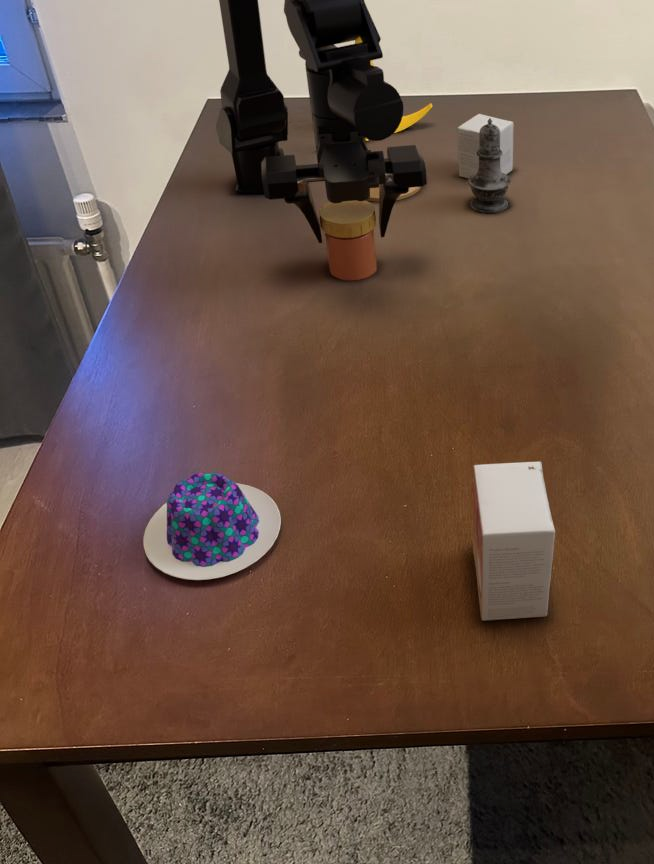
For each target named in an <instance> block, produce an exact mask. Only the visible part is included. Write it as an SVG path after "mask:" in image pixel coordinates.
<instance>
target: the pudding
mask: <svg viewBox="0 0 654 864" xmlns="http://www.w3.org/2000/svg"><path fill="white" fill-rule="evenodd" d="M281 523H282V518H281V511H280V509H279V507H278V504H277V503H276V502H275V501H274V500H273V498H272V497H271V496H269V495H268V494H267V493H266V492H265V491H262V490H261V489H258V488H257V487H254V486H252V485H248V484H243V483H238V482H235V481H234V480H232V479H229V478H228V476H227V475H225V474H223V473H220V472H211V473H206V472H198V473H194V474H193V475H191V476H190V477H189V478H185V479H181V480H180V481H179V482H177V483H176V484H175V486H174V487H173V491H172V492H171V493H169V496H168V499H167V501H166V502H165V503H164V504H163V505H161V507H160V508H159V509H157V510H156V511H155V512H154V514H153V515H152V516H151V518H150V519H149V521H148V523H147V525H146V527H145V530H144V534H143V543H142V545H143V549H144V553H145V556H146V557H147V559H148V560H149V562H150V563H151V564H152V565H153V566H154V567H155V568H156V569H157V570H159V571H161V572H162V573H164V574H166V575H169V576H171V577H174V578H178V579H182V580H190V581H191V580H192V581H193V580H194V581H202V580H203V581H204V580H212V579H219V578H224V577H226V576H230V575H232V574H235V573H238V572H239V571H242V570H244V569H246V568H248V567H250V566H251V565H253V564H255V563H256V562H257V561H259V560H260V559H261V558H262V557H264V555H266V553H267V552H268V551H269V550H270V549H271V548H272V546H273V545H274V543H275V542H276V540H277V538H278V536H279V533H280V530H281Z"/></svg>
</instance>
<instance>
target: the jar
mask: <svg viewBox="0 0 654 864" xmlns="http://www.w3.org/2000/svg"><path fill="white" fill-rule="evenodd" d="M324 239H325V246H326V253H327V260H328V261H327V262H328V267H329V272H330V274H331V276H333V277H334V278H337V279H339V280H343V281H360V280H364V279H367V278H369V277H371V276H372V275H374V274H375V273H376V272H377V270H378V262H377V251H376V241H375V240H376V239H375V227H374V228H373V230H371V231H370V232H368V233H367V234H364V235H361V236H358V237H351V238H340V237H334V236H331V235H328V234H326V233H325V232H324Z"/></svg>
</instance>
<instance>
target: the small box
mask: <svg viewBox="0 0 654 864" xmlns="http://www.w3.org/2000/svg"><path fill="white" fill-rule="evenodd" d="M555 536H556V529H555V525H554V522H553V518H552V513H551V509H550V504H549V499H548V494H547V489H546V484H545V479H544V473H543V465H542V461H523V462H521V461H519V462H503V463H486V464H485V463H484V464H474V465H473V466H472V553H473V559H474V567H475V574H476V582H477V584H476V585H477V594H478V604H479V611H480V613H479V614H480V619H481V621H483V622H484V621H497V620H512V619H528V618H544V617H545V618H546V617H547V616H548V609H549V599H550V597H549V596H550V587H551V580H552V579H551V577H552V570H553V569H552V568H553V561H554V560H553V558H554V549H555V540H556V539H555V538H556V537H555Z"/></svg>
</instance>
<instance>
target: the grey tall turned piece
mask: <svg viewBox="0 0 654 864" xmlns="http://www.w3.org/2000/svg"><path fill="white" fill-rule="evenodd" d="M487 122H488V124H486V125H484V126H482V127H481V129H480V132H479V150H478V151H477V156H479V168H478V172H477V173H475V174H473V175H471V176H470V177H469V178H467V181H468V185H469V186H470V191H471V192H472V194H473V195H474V198H473V199H472V200H471V201H470V207H471V208H472V209H473V210H474V211H476V212H479V213H482V214H497V213H500V212H503V211H505V210H506V209H507V208H508V206H509V203H508V201H507V200H506V199H505V198H504V196H506V193H507V191H508V189H509V186H510V184H511V182H512V181H511V180H512V179H511V178H510V176H509V175H508V174H504V173H502V172H501V168H500V157H501V156H502V154H503V152H502V150H500V129H499V128H498V127H497V126H496V125H493V124H492V120H491V118H489V119H488V121H487Z"/></svg>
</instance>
